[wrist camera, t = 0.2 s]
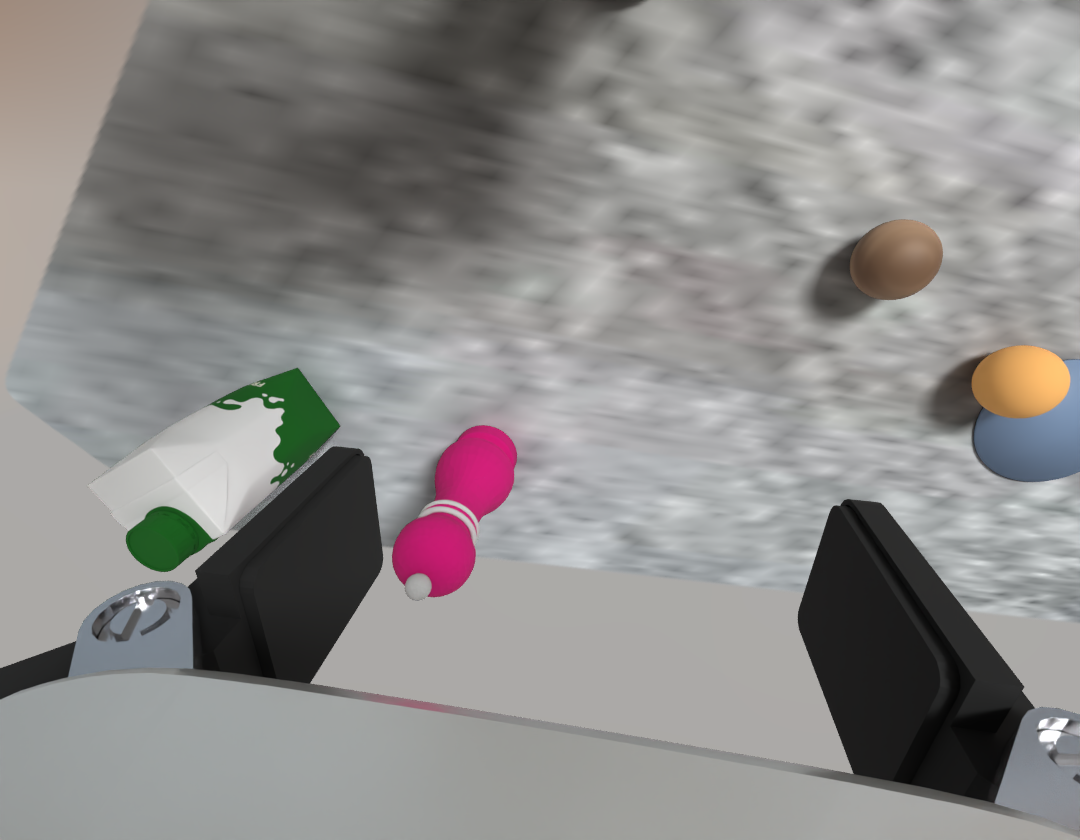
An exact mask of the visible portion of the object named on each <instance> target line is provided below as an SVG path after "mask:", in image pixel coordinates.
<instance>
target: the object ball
mask: <svg viewBox="0 0 1080 840" xmlns="http://www.w3.org/2000/svg"><path fill="white" fill-rule="evenodd" d="M1069 387H1070V374H1069V370H1068V368H1067V366H1066V365H1065V363H1064V362H1063V361H1062V360H1061V359H1060V358H1059V357H1058V356H1057V355H1055V354H1054V353H1052V352H1050V351H1048V350H1046V349H1043V348H1039V347H1035V346H1025V345H1024V346H1012V347H1007V348H1003V349H1001V350H998V351H996V352H994V353H992V354H990V355H989V356H987V357H986V358H985V359H984V360H982V361H981V363H980V364H979V365H978V366H977V368H976V369H975V371H974V374H973V377H972V391H973V394H974V396H975V398H976V399H977V401H978V402H979V403H980V404H981V405H982V406H983V407H984V408H985V409H987V410H988V411H990V412H992V413H994V414H996V415H999V416H1003V417H1007V418H1030V417H1035V416H1038V415H1041V414H1044V413H1046V412H1048V411H1050V410H1051V409H1053V408H1055V407H1056V406H1057V405H1058V404H1059V403H1060V402H1061V401H1062V400H1063V399H1064V398H1065V396H1066V395H1067V393H1068V390H1069Z"/></svg>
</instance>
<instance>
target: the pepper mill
mask: <svg viewBox="0 0 1080 840" xmlns="http://www.w3.org/2000/svg"><path fill="white" fill-rule="evenodd" d="M516 461H517V452H516V448H515V446H514V443H513V442H512V440H511V439H510V438H509V437H508V436H507V435H506V434H505V433H504V432H503V431H501V430H499V429H497V428H495V427H491V426H484V425H482V426H475V427H472V428H470V429H468V430H466V431H465V432H464V433H463V434H462V435H461V436H460V437H459V439H458V441H457V442H455V443H453V444H452V445H450V446H449V447H448V448H447V449H446V450H445V451H444V452H443V454H442V456H441V458H440V460H439V462H438V464H437V468H436V473H435V488H436V497H435V501H433V502H431V503H429V504H427V505H426V506H425V507H424V508H423V509H422V511H421V513H420V515H419V516H418V517H417V519H415V520H413V521H412V522H410V523H409V524H407V525H406V526H405V527H404V528H403V530H402V531H401V532H400V534H399V536H398V537H397V539H396V541H395V544H394V547H393V554H392V562H393V568H394V570H395V573H396V575H397V576H398V578H399V580H400V581H401V582H402V583H403V584H404V585H405V592H406V594H407V596H408V597H409V598H410V599H412V600H416V601H419V600H422V599H424V598H426V597H440V596H444V595H447V594H450V593H452V592H454V591H456V590H457V589H458V588H460V587H461V586H462V585H463V584H464V583H465V582H466V580H467V579H468V578H469V576H470V574H471V572H472V570H473V567H474V564H475V557H476V552H475V545H476V542H477V540H478V538H479V534H480V527H479V521H480V519H481V518H482V517H483V516H484V515H486V514H488V513H490V512H492V511H494V510H495V509H497V508H498V507H499V506H500V505H501V504H502V503H503V502H504V501H505V500H506V498H507V497H508V495H509V493H510V491H511V489H512V486H513V483H514V467H515V465H516Z"/></svg>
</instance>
